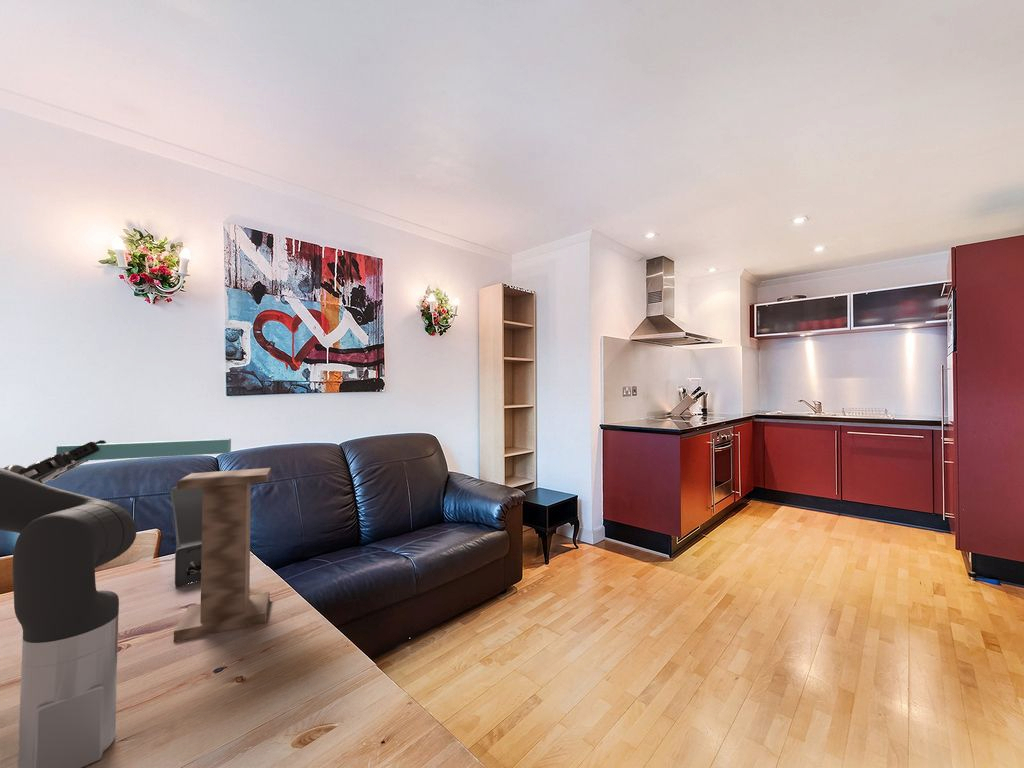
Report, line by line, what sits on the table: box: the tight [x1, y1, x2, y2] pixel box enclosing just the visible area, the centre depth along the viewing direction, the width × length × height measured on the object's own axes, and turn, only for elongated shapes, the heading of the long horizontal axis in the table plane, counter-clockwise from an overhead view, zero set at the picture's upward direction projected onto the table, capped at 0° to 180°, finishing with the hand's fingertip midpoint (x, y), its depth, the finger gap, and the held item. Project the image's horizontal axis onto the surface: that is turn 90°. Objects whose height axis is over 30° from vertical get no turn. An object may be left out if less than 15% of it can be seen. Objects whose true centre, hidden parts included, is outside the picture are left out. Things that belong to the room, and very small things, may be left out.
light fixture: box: [169, 486, 203, 588], centre depth 122 cm, size 11×17×24 cm, turn 48°
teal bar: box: [55, 438, 232, 462], centre depth 90 cm, size 28×4×3 cm, turn 116°
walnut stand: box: [173, 467, 272, 642], centre depth 95 cm, size 16×12×32 cm
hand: (101, 444), depth 87 cm, fingers closed on teal bar, 4 cm apart
